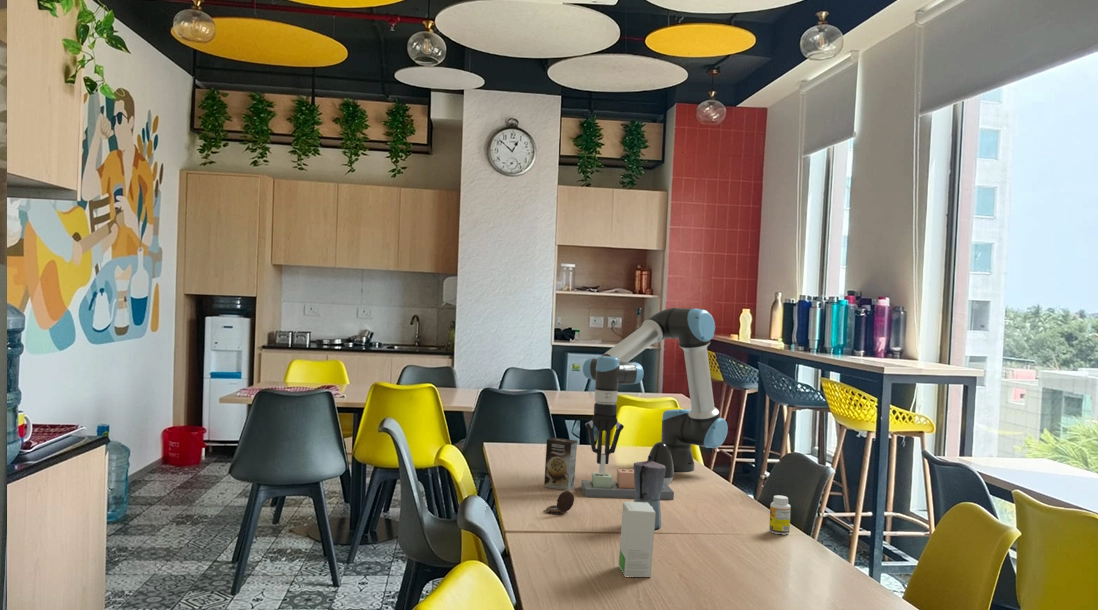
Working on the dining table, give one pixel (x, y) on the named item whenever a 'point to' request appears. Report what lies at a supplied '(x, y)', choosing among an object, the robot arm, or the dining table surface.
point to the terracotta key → (625, 478)
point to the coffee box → (560, 463)
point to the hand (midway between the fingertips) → (601, 473)
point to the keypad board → (619, 491)
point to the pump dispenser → (663, 460)
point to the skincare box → (637, 539)
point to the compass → (562, 503)
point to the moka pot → (649, 485)
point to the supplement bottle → (780, 515)
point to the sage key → (601, 480)
